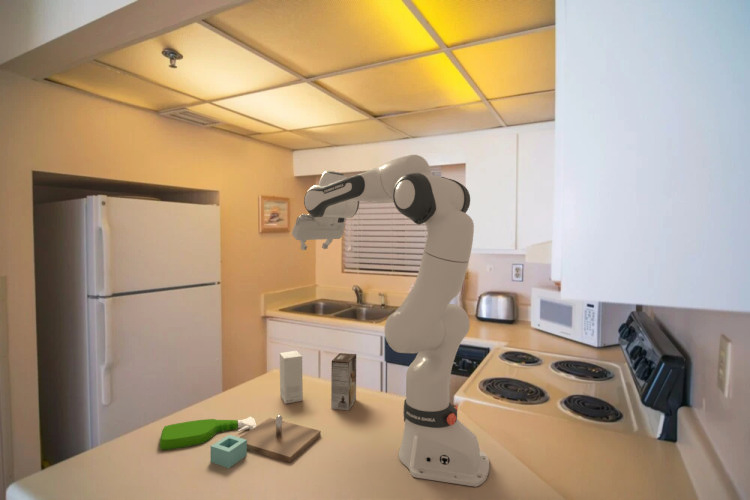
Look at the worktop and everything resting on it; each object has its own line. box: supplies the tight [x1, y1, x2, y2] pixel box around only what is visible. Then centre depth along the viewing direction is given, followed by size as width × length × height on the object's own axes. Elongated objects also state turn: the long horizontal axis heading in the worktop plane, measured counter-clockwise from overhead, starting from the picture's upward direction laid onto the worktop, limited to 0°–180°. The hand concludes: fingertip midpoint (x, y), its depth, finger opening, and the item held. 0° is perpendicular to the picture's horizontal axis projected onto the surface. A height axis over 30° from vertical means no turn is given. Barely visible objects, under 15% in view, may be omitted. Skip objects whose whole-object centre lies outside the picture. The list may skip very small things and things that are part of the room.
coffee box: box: [330, 352, 357, 411], centre depth 124 cm, size 9×6×16 cm
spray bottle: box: [159, 416, 258, 451], centre depth 105 cm, size 3×11×24 cm
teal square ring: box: [210, 434, 248, 469], centre depth 92 cm, size 6×6×4 cm
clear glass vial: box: [275, 415, 283, 437], centre depth 101 cm, size 2×2×6 cm
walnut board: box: [238, 417, 322, 464], centre depth 101 cm, size 18×14×2 cm
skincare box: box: [279, 350, 304, 405], centre depth 129 cm, size 8×7×16 cm
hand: (314, 248), depth 136 cm, fingers open, 8 cm apart
